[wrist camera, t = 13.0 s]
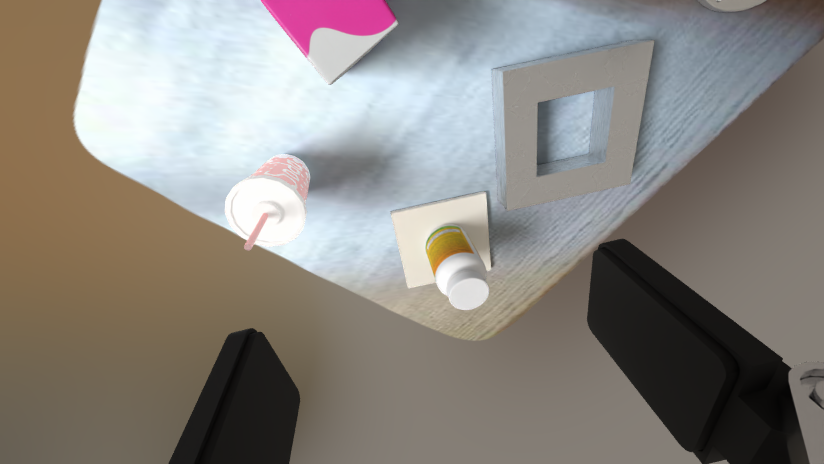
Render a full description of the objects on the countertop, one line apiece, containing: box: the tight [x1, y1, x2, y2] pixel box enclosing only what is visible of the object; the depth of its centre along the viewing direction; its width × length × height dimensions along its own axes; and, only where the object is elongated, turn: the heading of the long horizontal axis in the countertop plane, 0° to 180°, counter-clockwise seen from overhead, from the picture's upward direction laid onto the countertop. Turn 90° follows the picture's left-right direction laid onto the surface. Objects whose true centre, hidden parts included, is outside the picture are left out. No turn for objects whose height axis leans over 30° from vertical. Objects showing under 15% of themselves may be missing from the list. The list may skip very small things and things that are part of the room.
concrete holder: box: [491, 40, 654, 211], centre depth 35 cm, size 14×14×3 cm
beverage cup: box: [225, 154, 310, 250], centre depth 28 cm, size 6×6×14 cm
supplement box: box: [261, 0, 399, 85], centre depth 24 cm, size 6×6×12 cm
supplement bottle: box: [425, 224, 489, 310], centre depth 36 cm, size 5×5×10 cm
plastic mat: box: [391, 191, 491, 288], centre depth 41 cm, size 11×11×1 cm
